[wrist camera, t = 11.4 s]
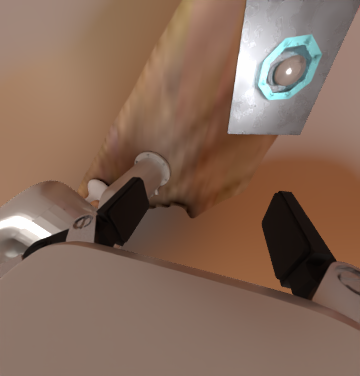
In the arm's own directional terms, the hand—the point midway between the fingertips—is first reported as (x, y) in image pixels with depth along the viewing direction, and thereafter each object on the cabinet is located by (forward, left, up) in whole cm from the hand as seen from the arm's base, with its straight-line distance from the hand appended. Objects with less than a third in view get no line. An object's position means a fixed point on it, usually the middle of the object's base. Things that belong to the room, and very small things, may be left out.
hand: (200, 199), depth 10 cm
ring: (+8, -9, -26) cm, 29 cm away
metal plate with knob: (+8, -9, -27) cm, 30 cm away
